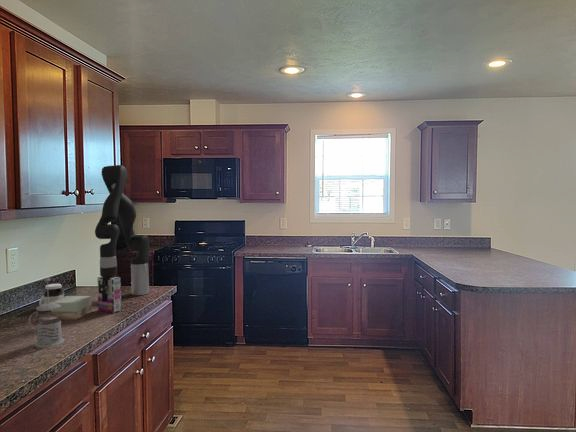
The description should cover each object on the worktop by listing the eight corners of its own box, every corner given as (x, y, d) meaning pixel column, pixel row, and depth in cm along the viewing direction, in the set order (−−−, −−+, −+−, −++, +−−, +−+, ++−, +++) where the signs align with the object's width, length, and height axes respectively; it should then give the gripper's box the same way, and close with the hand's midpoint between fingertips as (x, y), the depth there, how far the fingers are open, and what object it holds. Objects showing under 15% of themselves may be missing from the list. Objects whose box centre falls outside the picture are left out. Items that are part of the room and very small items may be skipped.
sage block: (67, 303, 193) (66, 295, 193) (91, 304, 192) (91, 296, 192) (51, 311, 181) (50, 302, 181) (76, 311, 180) (76, 303, 180)
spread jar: (58, 310, 194) (57, 287, 193) (33, 312, 192) (32, 288, 192) (68, 304, 206) (67, 281, 205) (44, 305, 204) (43, 282, 203)
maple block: (67, 312, 193) (67, 304, 193) (91, 312, 192) (91, 304, 192) (51, 320, 181) (50, 311, 181) (76, 320, 180) (76, 311, 180)
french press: (61, 345, 149) (58, 279, 147) (25, 349, 145) (22, 281, 144) (67, 336, 158) (65, 274, 157) (34, 340, 155) (31, 276, 154)
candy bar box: (122, 310, 193) (121, 277, 192) (113, 313, 189) (112, 279, 188) (106, 307, 198) (105, 275, 197) (97, 310, 194) (96, 277, 193)
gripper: (108, 263, 200) (109, 295, 200) (92, 268, 185) (93, 302, 186) (123, 263, 199) (124, 295, 200) (108, 268, 185) (109, 303, 186)
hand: (109, 298), depth 193 cm, fingers open, 8 cm apart
